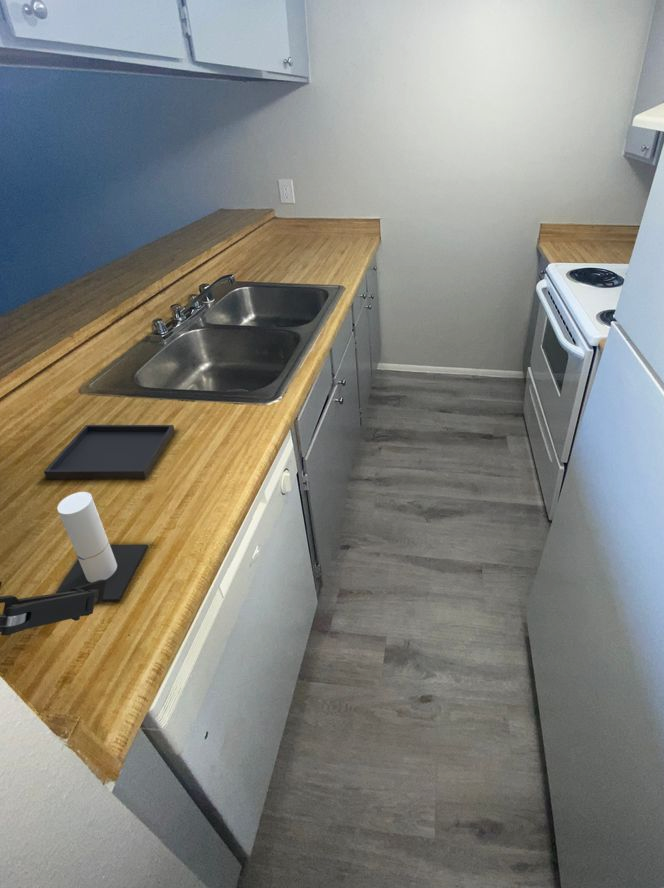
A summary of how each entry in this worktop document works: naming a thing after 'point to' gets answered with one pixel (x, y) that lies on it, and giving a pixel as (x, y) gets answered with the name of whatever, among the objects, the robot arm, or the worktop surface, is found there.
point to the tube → (87, 536)
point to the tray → (111, 452)
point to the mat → (116, 583)
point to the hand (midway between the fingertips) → (49, 591)
